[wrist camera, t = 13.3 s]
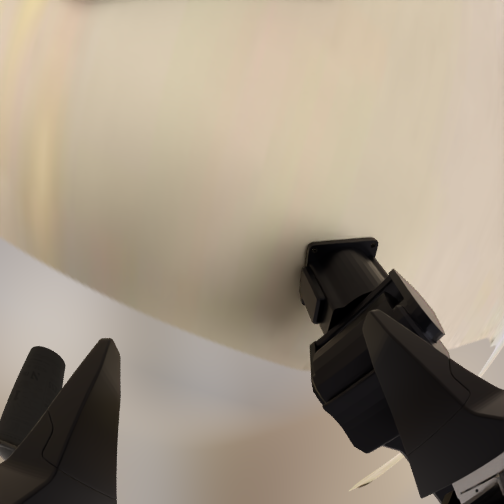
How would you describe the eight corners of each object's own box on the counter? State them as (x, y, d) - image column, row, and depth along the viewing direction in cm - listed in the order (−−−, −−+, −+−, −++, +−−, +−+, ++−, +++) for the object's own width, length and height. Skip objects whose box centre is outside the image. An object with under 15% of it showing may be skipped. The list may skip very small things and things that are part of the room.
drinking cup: (87, 367, 29) (69, 531, 12) (58, 382, 30) (38, 521, 14) (36, 328, 25) (-8, 503, 8) (12, 349, 26) (-25, 493, 10)
